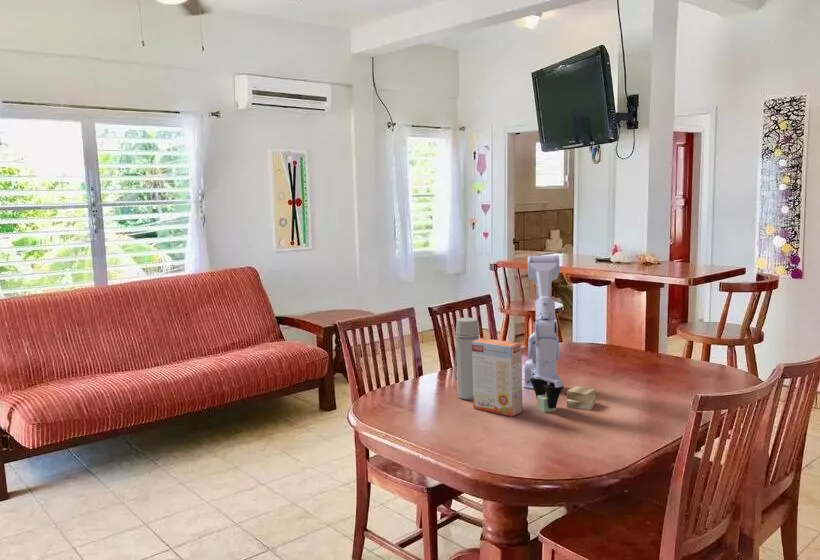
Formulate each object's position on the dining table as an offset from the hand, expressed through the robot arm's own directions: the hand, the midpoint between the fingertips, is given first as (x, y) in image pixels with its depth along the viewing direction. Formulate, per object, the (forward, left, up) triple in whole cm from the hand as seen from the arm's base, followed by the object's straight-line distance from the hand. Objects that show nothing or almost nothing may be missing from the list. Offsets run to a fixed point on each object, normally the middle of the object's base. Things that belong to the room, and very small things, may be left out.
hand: (546, 404), depth 199 cm
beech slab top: (+7, +9, +1) cm, 12 cm away
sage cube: (0, 0, -2) cm, 2 cm away
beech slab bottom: (+7, +9, -2) cm, 12 cm away
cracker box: (-12, -8, -2) cm, 14 cm away
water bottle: (-27, -1, -2) cm, 27 cm away
